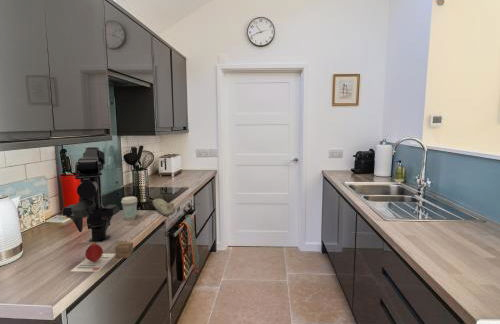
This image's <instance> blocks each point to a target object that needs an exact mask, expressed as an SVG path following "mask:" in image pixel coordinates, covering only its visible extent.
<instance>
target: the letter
mask: <svg viewBox="0 0 500 324" xmlns="http://www.w3.org/2000/svg"><path fill="white" fill-rule="evenodd" d="M114 257H116V253H103V254H102V256H101V257H100V258H99V259H98V260H97V261H96V262H93V261H90V260H88V259H87V258H85V259H83V260H82V261H81V262H80V263H79V264H77V265H75V267H73V268H72V269H71V270H70V272H83V273H85V272H91V273H92V272H94V273H96V272H99V271H100V270H101V269H102V268H104V267H105V266H106V265H107V264H108V262H110V261H111V260H112V259H113V258H114Z"/></svg>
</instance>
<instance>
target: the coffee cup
mask: <svg viewBox="0 0 500 324" xmlns="http://www.w3.org/2000/svg"><path fill="white" fill-rule="evenodd" d="M120 203H121V206H122V212H123V217H124V221H133V220H135V219H137V207H138V198H137V197H136V196H133V195H132V196H125V197H122V198H121V201H120Z"/></svg>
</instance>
